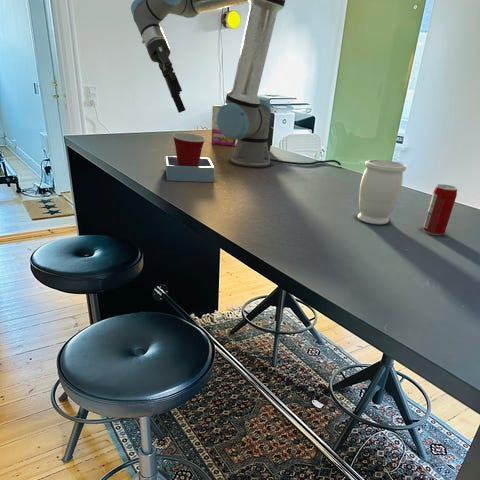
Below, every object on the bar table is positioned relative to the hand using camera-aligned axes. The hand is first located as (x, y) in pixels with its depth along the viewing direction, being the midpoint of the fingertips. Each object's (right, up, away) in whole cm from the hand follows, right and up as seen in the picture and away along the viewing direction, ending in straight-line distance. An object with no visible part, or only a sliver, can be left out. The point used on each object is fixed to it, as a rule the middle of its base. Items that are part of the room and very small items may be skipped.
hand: (180, 102), depth 155 cm
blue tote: (+4, -28, -6) cm, 28 cm away
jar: (+57, -49, -34) cm, 82 cm away
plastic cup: (+4, -27, -6) cm, 28 cm away
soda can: (+72, -53, -39) cm, 97 cm away
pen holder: (+30, 0, +45) cm, 54 cm away
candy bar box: (+13, +6, +53) cm, 55 cm away
